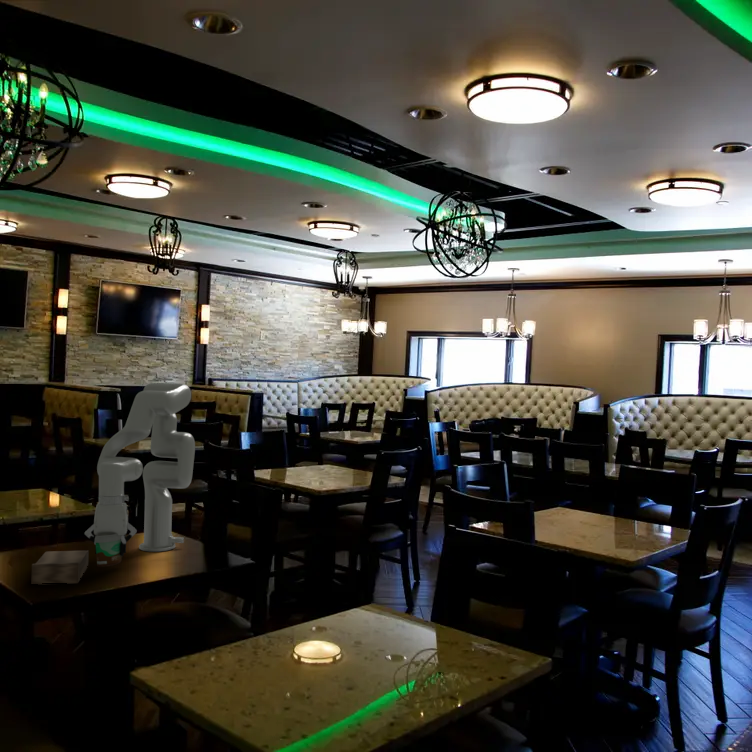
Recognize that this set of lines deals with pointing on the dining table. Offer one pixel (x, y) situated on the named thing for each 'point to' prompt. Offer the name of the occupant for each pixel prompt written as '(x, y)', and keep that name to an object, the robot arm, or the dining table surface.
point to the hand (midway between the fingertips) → (110, 555)
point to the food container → (108, 549)
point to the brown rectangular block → (60, 567)
